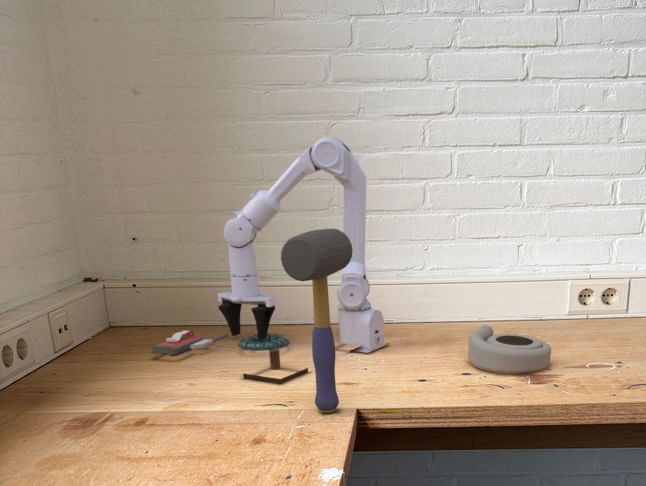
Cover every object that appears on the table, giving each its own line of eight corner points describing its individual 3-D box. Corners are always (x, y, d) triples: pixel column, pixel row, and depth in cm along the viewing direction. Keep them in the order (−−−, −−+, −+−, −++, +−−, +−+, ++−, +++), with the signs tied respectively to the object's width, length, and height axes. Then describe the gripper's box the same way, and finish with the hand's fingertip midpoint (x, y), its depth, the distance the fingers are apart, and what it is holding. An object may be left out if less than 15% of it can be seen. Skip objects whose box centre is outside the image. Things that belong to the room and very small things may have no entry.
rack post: (308, 372, 158) (306, 347, 157) (280, 384, 151) (278, 357, 149) (272, 367, 163) (270, 342, 161) (243, 378, 155) (240, 352, 154)
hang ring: (299, 347, 178) (298, 334, 177) (268, 359, 169) (267, 345, 168) (261, 342, 183) (260, 330, 182) (228, 353, 174) (227, 340, 173)
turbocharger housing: (536, 384, 151) (556, 364, 164) (540, 351, 148) (560, 333, 161) (453, 370, 157) (479, 352, 170) (455, 337, 155) (481, 322, 167)
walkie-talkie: (182, 363, 167) (232, 341, 185) (180, 343, 166) (230, 323, 183) (147, 361, 170) (199, 339, 188) (144, 340, 169) (197, 321, 186)
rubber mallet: (329, 425, 128) (318, 234, 118) (289, 420, 131) (274, 233, 121) (363, 402, 139) (355, 226, 129) (325, 398, 142) (314, 225, 132)
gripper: (205, 275, 173) (212, 337, 177) (258, 279, 166) (263, 343, 170) (227, 271, 178) (233, 330, 183) (279, 274, 172) (283, 336, 176)
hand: (249, 336), depth 177 cm, fingers open, 7 cm apart
